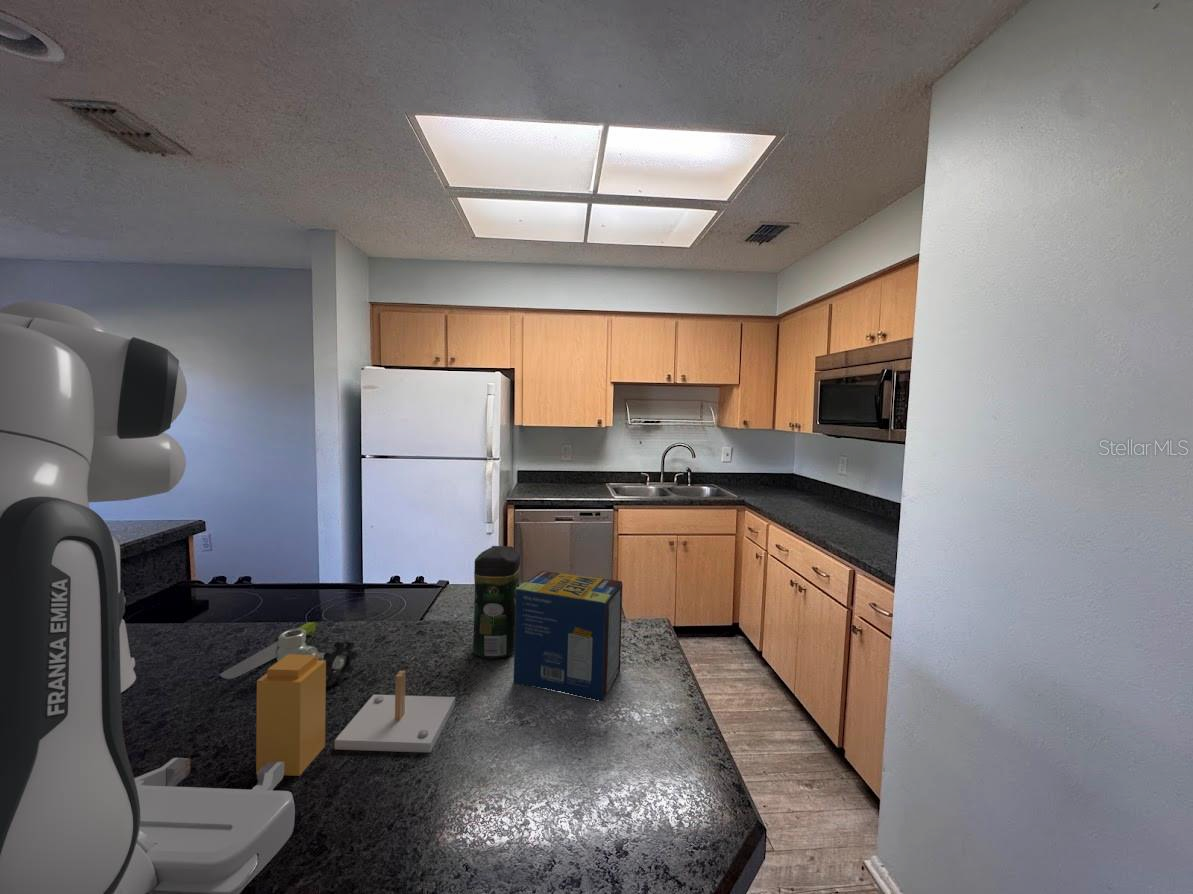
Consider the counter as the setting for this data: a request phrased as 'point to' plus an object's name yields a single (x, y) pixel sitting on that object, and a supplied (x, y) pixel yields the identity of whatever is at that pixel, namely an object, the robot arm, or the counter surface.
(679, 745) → the counter surface
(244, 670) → the kitchen knife
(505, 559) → the coffee jar
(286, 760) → the tall orange stepped box
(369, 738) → the plate
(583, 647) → the protein box
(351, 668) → the valve
